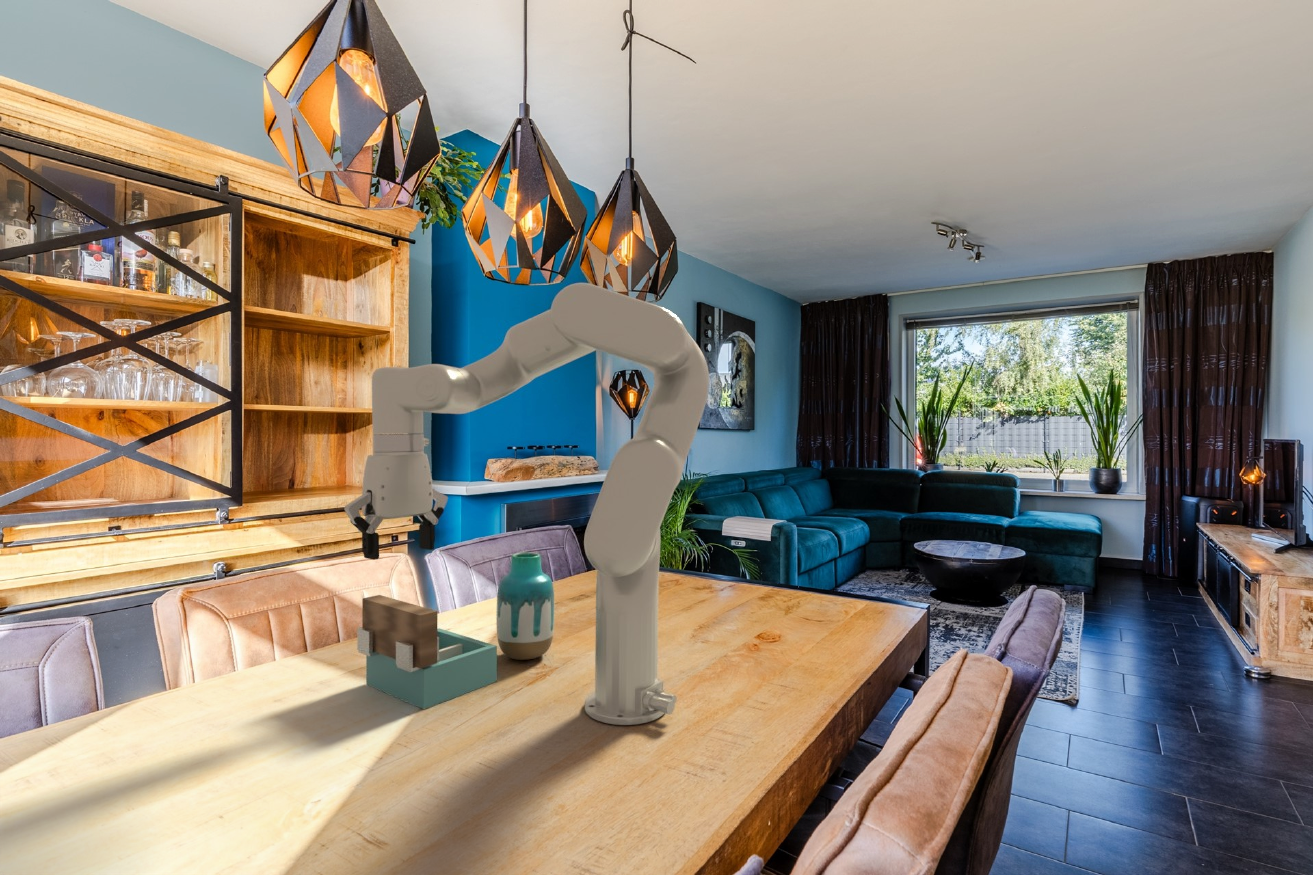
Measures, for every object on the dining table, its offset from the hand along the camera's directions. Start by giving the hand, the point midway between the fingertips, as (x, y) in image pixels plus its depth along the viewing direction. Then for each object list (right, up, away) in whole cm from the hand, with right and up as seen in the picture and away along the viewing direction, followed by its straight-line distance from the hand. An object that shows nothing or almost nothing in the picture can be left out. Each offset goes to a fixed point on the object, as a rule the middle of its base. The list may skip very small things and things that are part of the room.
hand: (400, 553), depth 105 cm
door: (0, -16, 0) cm, 16 cm away
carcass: (+3, -23, +5) cm, 23 cm away
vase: (+16, -23, +18) cm, 33 cm away
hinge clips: (-1, -17, 0) cm, 17 cm away
